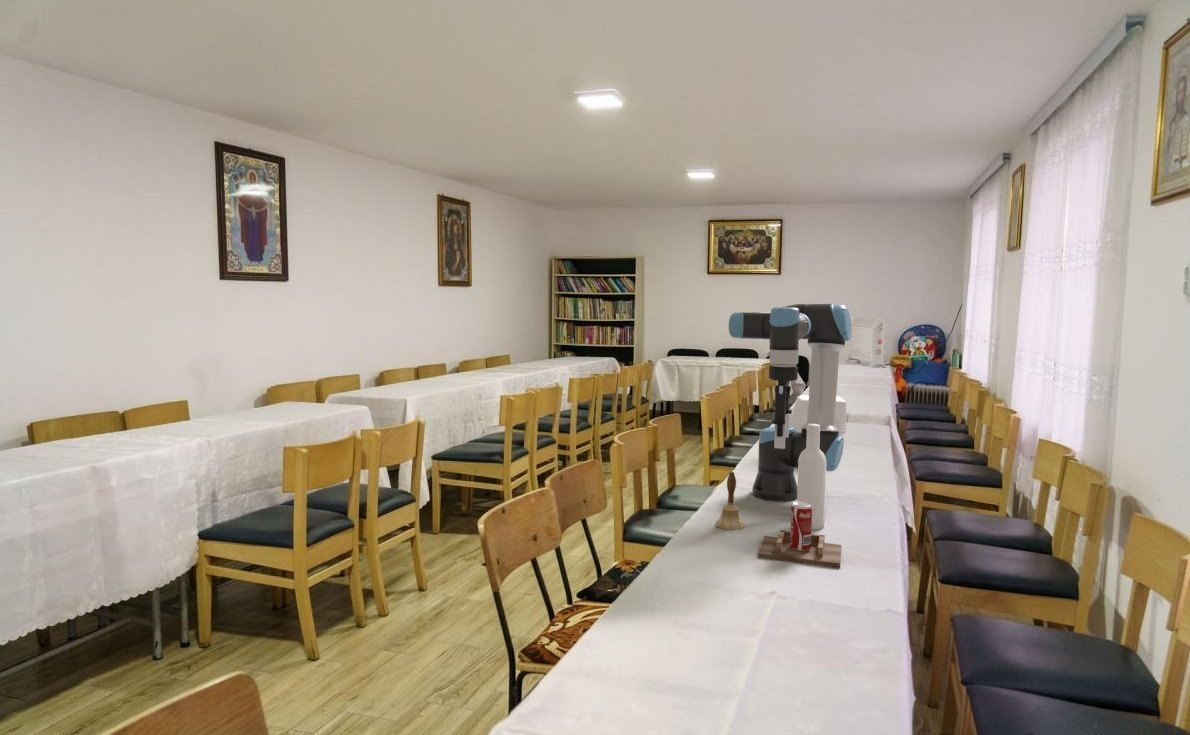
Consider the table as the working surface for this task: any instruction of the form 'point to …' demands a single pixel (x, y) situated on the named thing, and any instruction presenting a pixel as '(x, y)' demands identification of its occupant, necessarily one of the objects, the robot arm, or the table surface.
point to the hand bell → (730, 508)
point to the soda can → (801, 527)
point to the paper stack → (801, 411)
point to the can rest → (816, 555)
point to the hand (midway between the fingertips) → (781, 442)
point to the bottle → (812, 476)
